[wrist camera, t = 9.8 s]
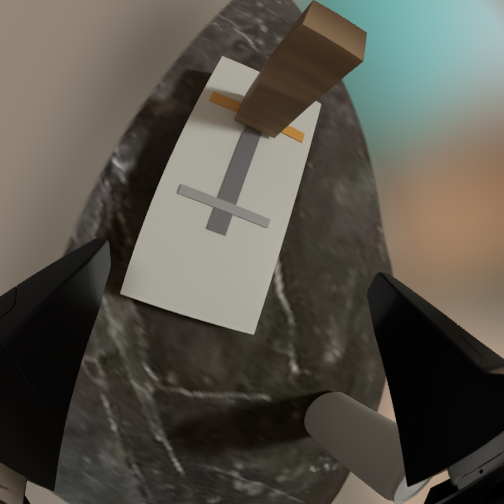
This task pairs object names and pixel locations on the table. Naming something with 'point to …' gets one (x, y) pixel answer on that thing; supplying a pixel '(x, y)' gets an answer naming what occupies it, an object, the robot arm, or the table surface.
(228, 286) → the fader console
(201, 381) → the table surface
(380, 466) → the beverage can
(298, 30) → the lever
